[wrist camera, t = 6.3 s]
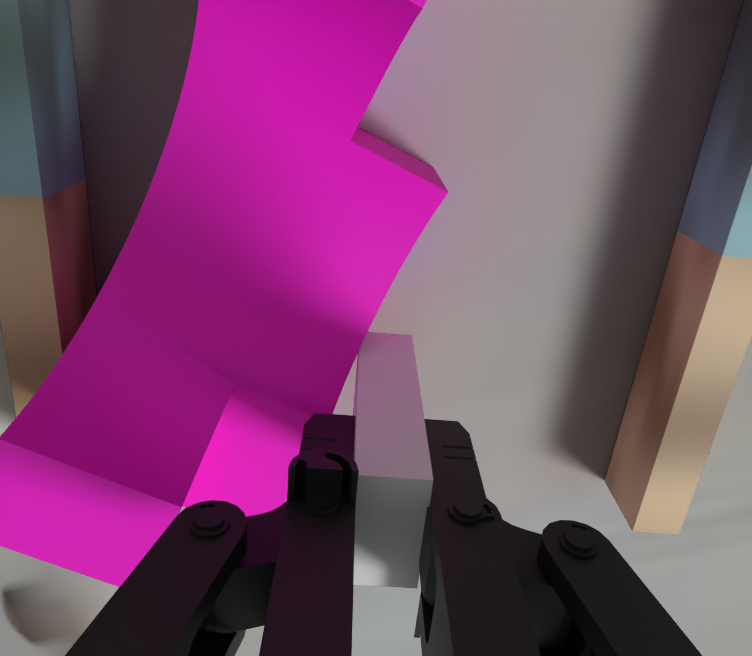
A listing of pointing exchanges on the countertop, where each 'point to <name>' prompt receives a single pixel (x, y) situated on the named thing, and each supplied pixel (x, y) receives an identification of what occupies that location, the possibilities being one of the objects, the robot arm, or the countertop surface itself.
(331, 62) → the toy block
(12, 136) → the rack bay
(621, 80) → the countertop surface
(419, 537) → the robot arm
